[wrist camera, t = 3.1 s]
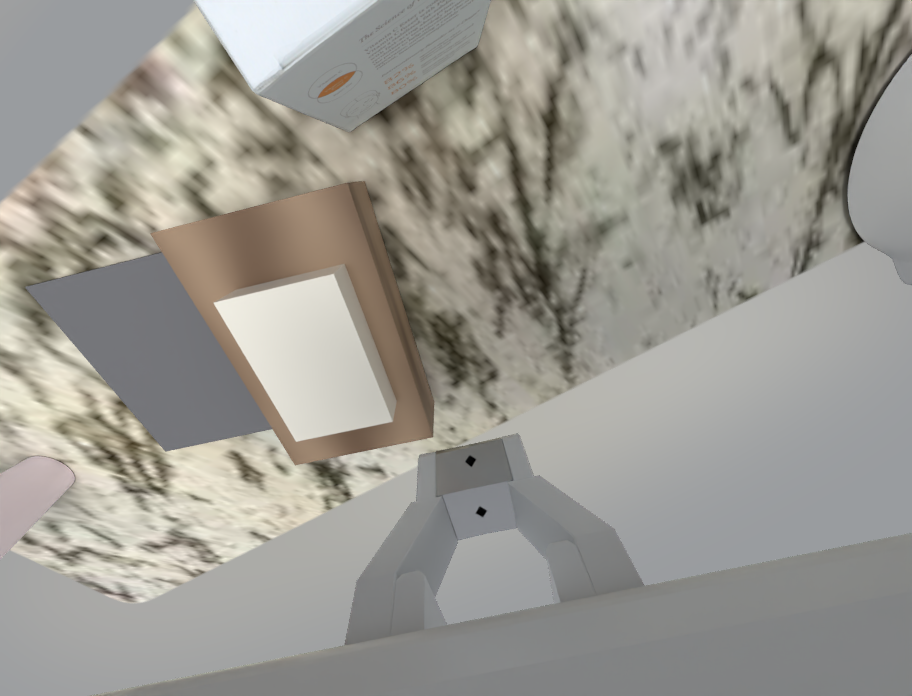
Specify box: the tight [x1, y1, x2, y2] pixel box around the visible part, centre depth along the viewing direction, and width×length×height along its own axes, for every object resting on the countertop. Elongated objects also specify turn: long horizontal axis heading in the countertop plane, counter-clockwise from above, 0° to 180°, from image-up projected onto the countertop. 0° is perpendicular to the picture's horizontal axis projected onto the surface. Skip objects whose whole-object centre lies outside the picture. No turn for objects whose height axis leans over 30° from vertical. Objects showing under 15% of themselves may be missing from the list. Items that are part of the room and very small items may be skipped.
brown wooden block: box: [150, 181, 434, 465], centre depth 21 cm, size 10×16×4 cm, turn 13°
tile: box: [214, 264, 397, 442], centre depth 19 cm, size 6×9×2 cm, turn 13°
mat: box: [25, 253, 272, 451], centre depth 24 cm, size 12×14×1 cm
